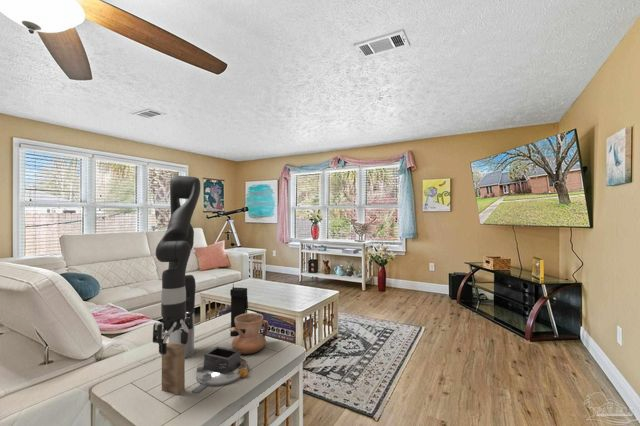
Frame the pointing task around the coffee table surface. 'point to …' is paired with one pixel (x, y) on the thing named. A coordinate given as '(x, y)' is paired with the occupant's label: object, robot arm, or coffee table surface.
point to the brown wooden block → (173, 369)
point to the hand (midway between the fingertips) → (173, 348)
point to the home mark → (199, 388)
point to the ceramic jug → (249, 333)
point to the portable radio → (238, 305)
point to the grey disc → (221, 367)
